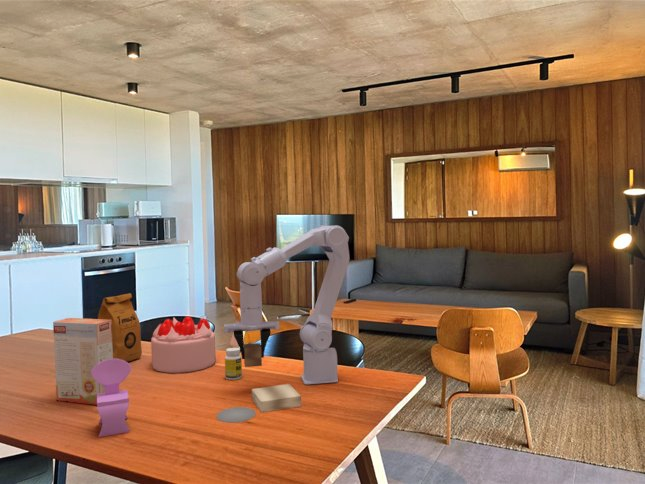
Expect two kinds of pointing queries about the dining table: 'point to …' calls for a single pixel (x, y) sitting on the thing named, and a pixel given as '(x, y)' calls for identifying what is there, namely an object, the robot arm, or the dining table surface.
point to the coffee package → (122, 327)
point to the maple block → (276, 398)
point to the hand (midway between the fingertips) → (252, 357)
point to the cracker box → (80, 357)
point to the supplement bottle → (233, 364)
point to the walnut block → (252, 355)
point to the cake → (183, 346)
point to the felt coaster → (235, 414)
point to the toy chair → (112, 396)
